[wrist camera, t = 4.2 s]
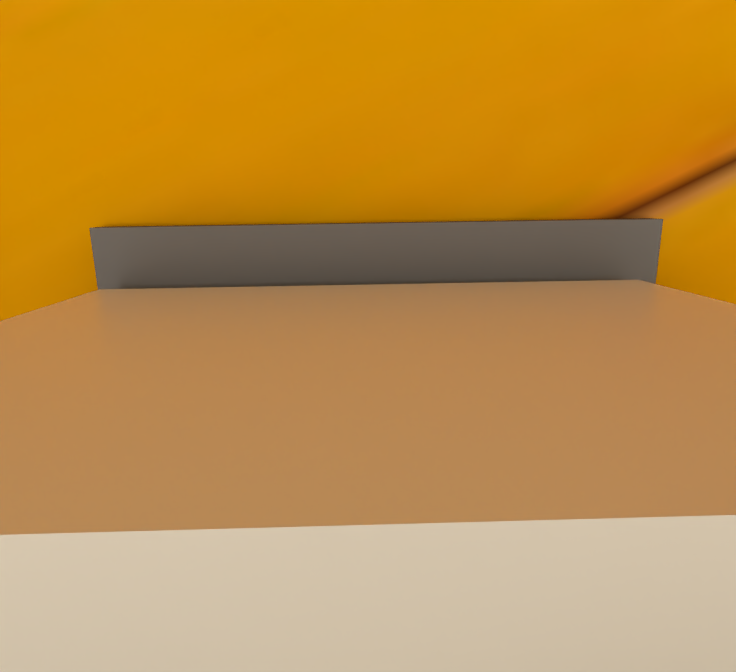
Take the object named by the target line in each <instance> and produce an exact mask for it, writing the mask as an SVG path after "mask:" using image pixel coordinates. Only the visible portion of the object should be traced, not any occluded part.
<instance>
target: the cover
mask: <svg viewBox="0 0 736 672" xmlns="http://www.w3.org/2000/svg"><path fill="white" fill-rule="evenodd" d="M0 672H736V304H733V303H729V302H725V301H721V300H717V299H713V298H709V297H705V296H701V295H697V294H693V293H689V292H685V291H681V290H677V289H673V288H669V287H665V286H662V285H658V284H654V283H650V282H646V281H642V280H594V281H538V282H482V283H426V284H370V285H314V286H258V287H202V288H146V289H99V290H96V291H93V292H90V293H87V294H83V295H80V296H77V297H74V298H71V299H68V300H65V301H62V302H58V303H55V304H52V305H49V306H46V307H43V308H40V309H37V310H33V311H30V312H27V313H24V314H21V315H18V316H15V317H12V318H8V319H5V320H2V321H0Z"/></svg>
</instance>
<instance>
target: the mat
mask: <svg viewBox="0 0 736 672" xmlns="http://www.w3.org/2000/svg"><path fill="white" fill-rule="evenodd" d="M662 223H663V219H650V218H647V219H582V220H517V221H452V222H388V223H323V224H258V225H193V226H128V227H95V228H90V235H91V242H92V250H93V257H94V264H95V271H96V278H97V285H98V290H99V289H146V288H202V287H258V286H314V285H370V284H426V283H482V282H538V281H594V280H642V281H646V282H650V283H654V284H655V283H656V274H657V266H658V257H659V249H660V240H661V232H662Z"/></svg>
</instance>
